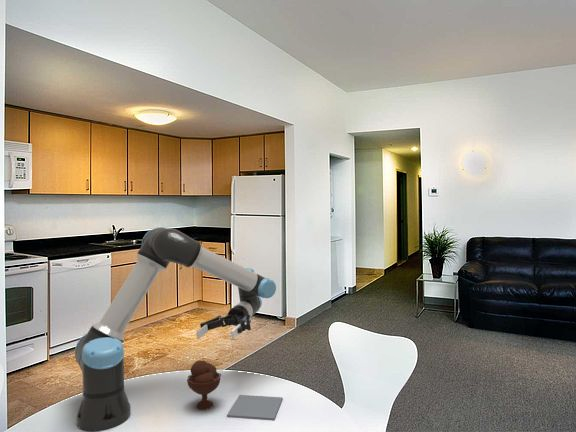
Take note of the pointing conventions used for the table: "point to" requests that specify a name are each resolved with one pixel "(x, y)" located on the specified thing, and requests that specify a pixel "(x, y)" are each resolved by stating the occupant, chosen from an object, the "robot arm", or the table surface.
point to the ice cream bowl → (203, 382)
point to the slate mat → (255, 407)
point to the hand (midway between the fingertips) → (214, 335)
